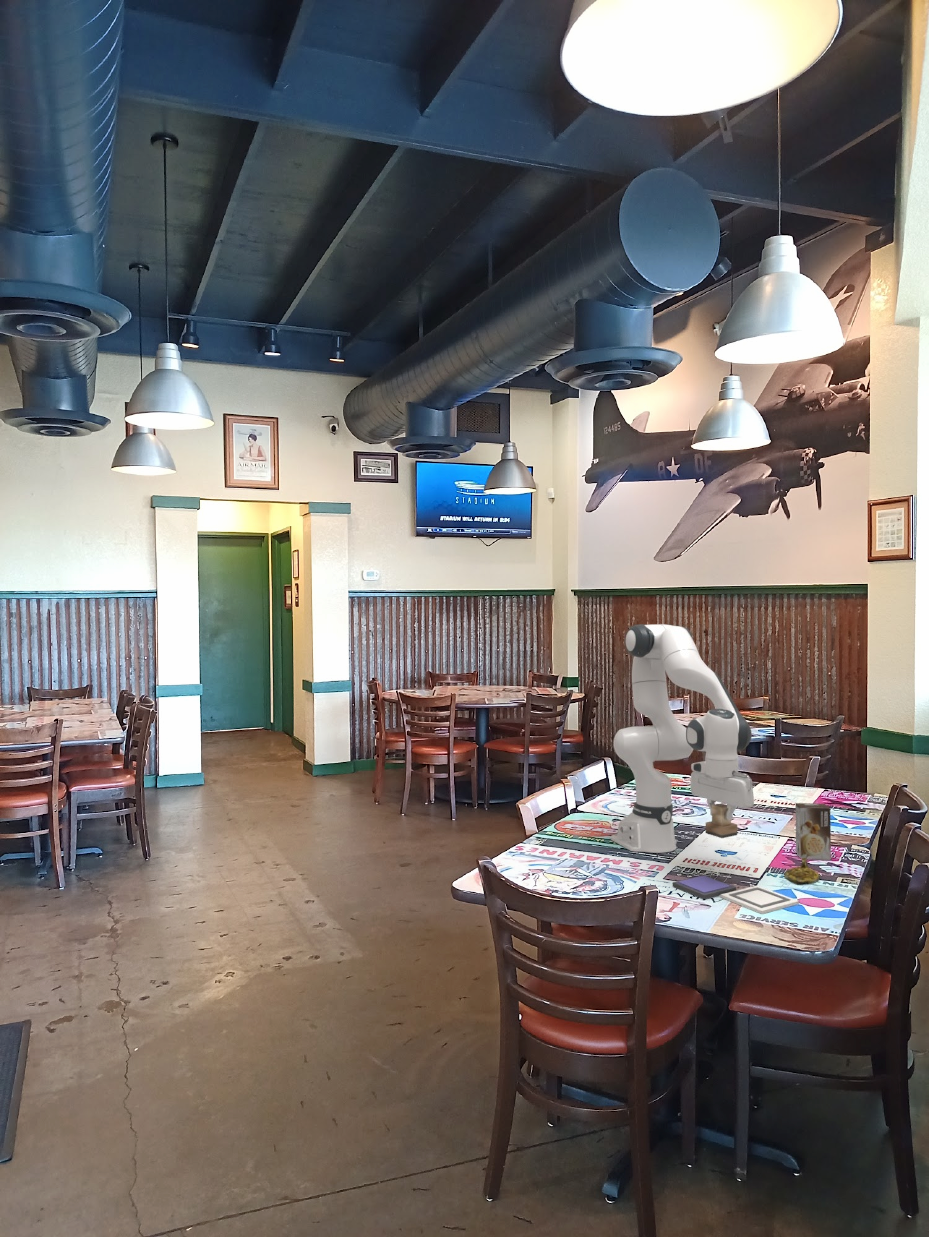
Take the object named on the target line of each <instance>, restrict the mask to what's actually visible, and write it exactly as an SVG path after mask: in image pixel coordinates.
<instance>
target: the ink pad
mask: <svg viewBox="0 0 929 1237" xmlns="http://www.w3.org/2000/svg"><path fill="white" fill-rule="evenodd" d="M673 886H674V887H673ZM672 887H673V888H675V887H677V888H678V889H677V888H676V889H677V890H680V889H681V890H680V891H683V892H685V893H687V892H688V894H689V895H692V896H694V895H695V896H694V897H697V898H699V897H700V899H702V900H704V899H705V900H708V899H712V898H717V897H721V894H725V893H729V892H733V891H737V887H736V886H735V885H734V886H733V885H731V884H729V883H726V882H723V881H720V880H718V879H715V878H714V877H713V878H712V877H710V876H707V875H705V874H702V875H698V876H694V877H689V878H685V879H680V880H677V881H673V882H672Z"/></svg>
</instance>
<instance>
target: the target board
mask: <svg viewBox="0 0 929 1237" xmlns="http://www.w3.org/2000/svg"><path fill="white" fill-rule="evenodd" d="M720 898H721V899H724V900H727V901H729V902H731V903H733V904H736V905H739V906H741V907H743V908H746V909H749V910H751V911H753V912H756V913H758V914H761V915H764V914H767V913H771V912H774V911H779V910H781V909H786V908H790V907H793V906H798V905H800V900H798V899H796V898H795V899H794V898H793V897H790V896H786V895H784V894H782V893H779V892H776V891H774V890H773V891H772V890H770V889H767V888H765V887H763V886H760V885H754V886H750V887H749V886H748V887H745V888H742V889H738V890H737V889H736V891H733V892H729V893H725V894H721V896H720Z"/></svg>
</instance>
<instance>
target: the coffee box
mask: <svg viewBox="0 0 929 1237" xmlns="http://www.w3.org/2000/svg"><path fill="white" fill-rule="evenodd" d="M831 822H832V821H831V808H830V806H828V805H826V804H825V803H813V802H812V803H807V802H805V803H803V802H795V854H796V853H797V854H796V855H797V857H798V856H799V857H800V858H801V859H800V858H799V857H798V858H799V859H800V860H802V858H806V859H807V860H812V859H813V860H816V861H817V860H818V861H819V860H820V861H823V860H824V861H832V855H831V854H832V845H831V844H832V843H831V841H832V839H831V838H832V837H831V836H832V835H831V834H832V833H831V832H832V831H831V830H832V828H831Z"/></svg>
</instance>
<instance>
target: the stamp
mask: <svg viewBox="0 0 929 1237" xmlns="http://www.w3.org/2000/svg"><path fill="white" fill-rule="evenodd" d="M728 809H729V808H727V804H725V803H715V805H712V815H711V821H707V822H705V834H707V835H711V836H714V837H716V838H720V839H724V838H725V839H727V838H729V837H730V838H731V837H734V836H737V835H738V824H737V823H734V822H732V820H726V819H724V813H727V811H728Z"/></svg>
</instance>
